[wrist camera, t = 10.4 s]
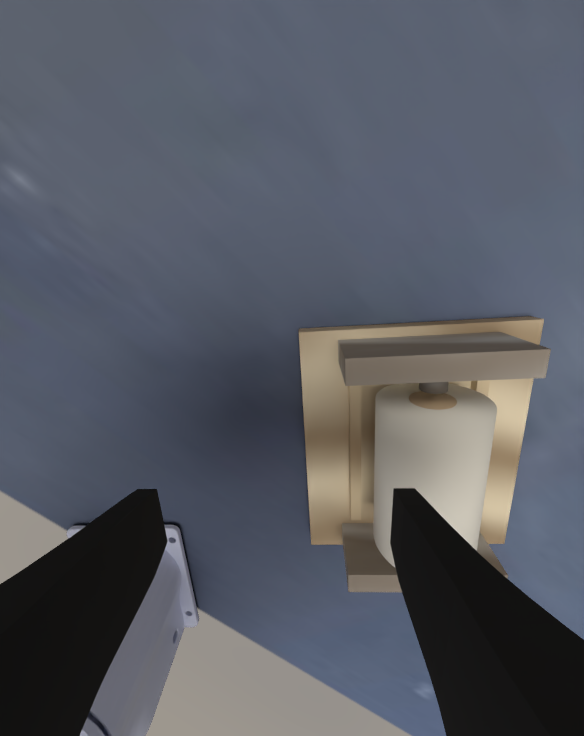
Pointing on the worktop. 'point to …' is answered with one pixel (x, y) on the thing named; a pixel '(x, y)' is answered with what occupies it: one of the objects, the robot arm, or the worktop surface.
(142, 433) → the worktop surface
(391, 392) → the paper roll
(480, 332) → the roll holder
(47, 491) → the worktop surface
